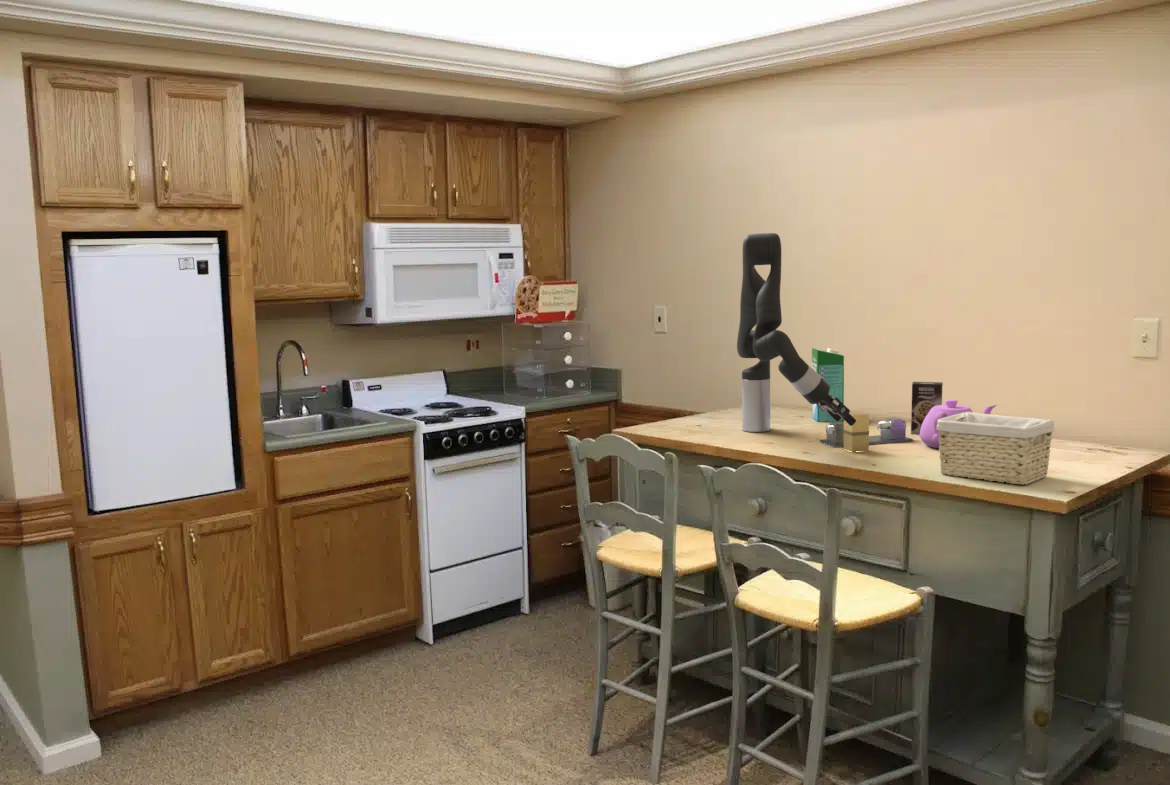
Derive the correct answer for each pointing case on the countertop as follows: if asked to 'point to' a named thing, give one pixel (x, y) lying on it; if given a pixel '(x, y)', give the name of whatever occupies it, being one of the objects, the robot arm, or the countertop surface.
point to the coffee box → (924, 402)
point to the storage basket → (995, 447)
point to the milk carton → (829, 378)
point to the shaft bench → (889, 433)
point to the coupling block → (857, 433)
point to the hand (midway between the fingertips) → (846, 421)
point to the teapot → (938, 412)
